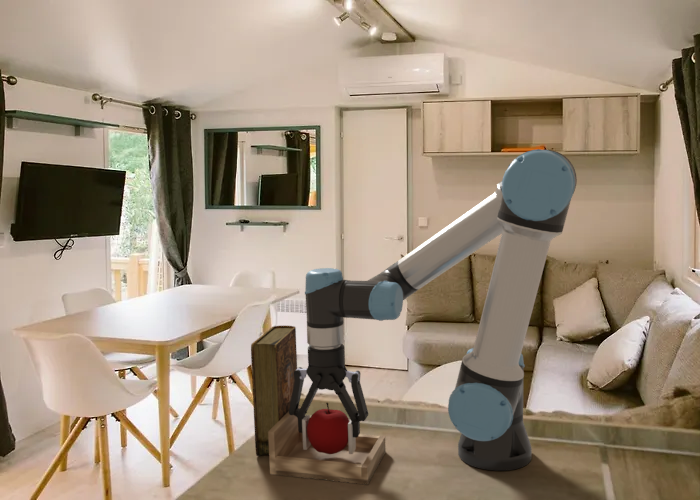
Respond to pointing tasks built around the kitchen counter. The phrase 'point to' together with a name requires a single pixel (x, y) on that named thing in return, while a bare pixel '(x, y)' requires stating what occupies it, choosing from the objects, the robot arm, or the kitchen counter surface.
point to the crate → (321, 455)
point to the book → (272, 380)
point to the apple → (328, 430)
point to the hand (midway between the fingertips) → (329, 449)
